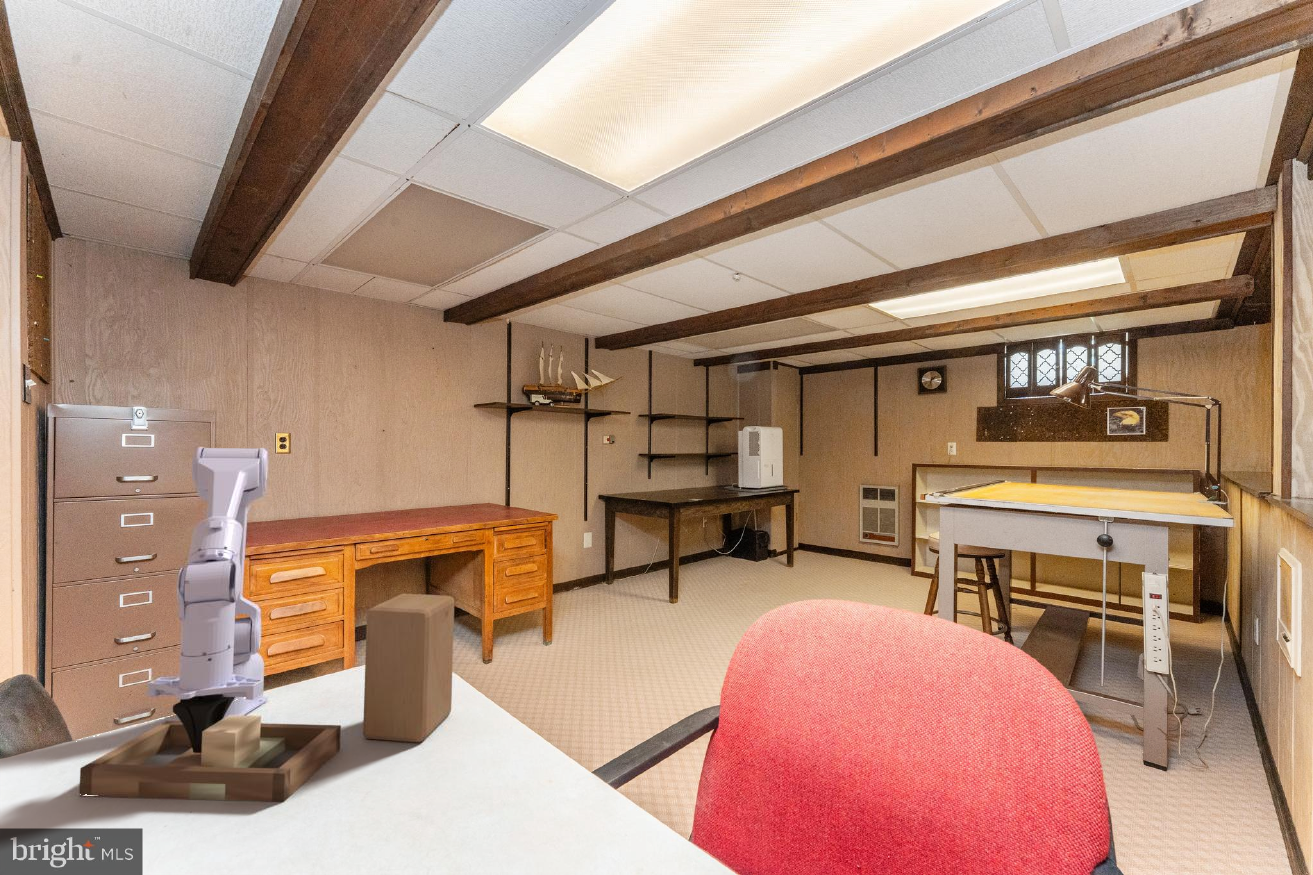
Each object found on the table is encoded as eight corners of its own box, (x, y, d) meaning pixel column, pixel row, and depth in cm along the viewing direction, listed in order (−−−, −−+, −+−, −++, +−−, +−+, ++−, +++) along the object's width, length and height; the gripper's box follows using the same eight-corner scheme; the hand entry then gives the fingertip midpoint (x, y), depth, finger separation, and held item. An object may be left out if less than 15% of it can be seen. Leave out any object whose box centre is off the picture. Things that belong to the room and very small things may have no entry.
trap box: (165, 744, 81) (166, 720, 81) (340, 749, 81) (340, 725, 81) (79, 796, 69) (80, 768, 69) (283, 801, 69) (284, 773, 69)
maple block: (228, 746, 77) (229, 714, 77) (259, 748, 77) (260, 715, 77) (201, 765, 73) (202, 731, 73) (234, 766, 72) (235, 732, 73)
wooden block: (453, 713, 92) (456, 594, 93) (422, 745, 82) (426, 611, 83) (397, 709, 93) (400, 591, 94) (359, 740, 83) (364, 608, 84)
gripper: (127, 658, 71) (122, 764, 71) (237, 661, 71) (233, 767, 71) (175, 639, 78) (171, 735, 78) (275, 642, 78) (272, 738, 78)
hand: (203, 748), depth 75 cm, fingers closed
